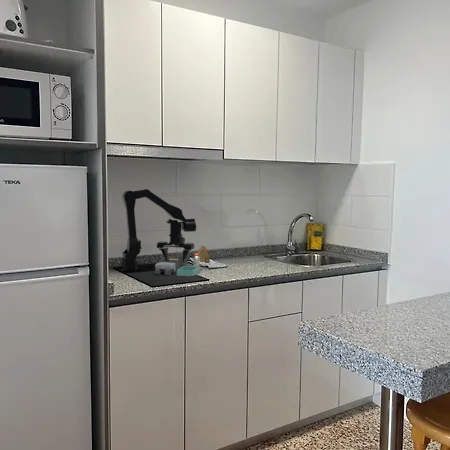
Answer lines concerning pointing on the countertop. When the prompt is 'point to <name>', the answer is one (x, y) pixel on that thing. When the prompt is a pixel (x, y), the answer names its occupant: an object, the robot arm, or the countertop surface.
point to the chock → (177, 262)
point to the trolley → (165, 268)
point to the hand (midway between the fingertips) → (175, 262)
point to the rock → (203, 254)
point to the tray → (188, 271)
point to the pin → (196, 260)
